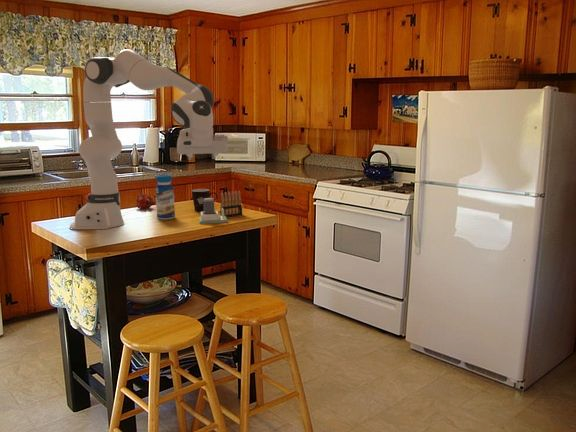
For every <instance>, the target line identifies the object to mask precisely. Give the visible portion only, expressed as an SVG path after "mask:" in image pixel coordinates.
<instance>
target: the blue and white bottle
mask: <svg viewBox="0 0 576 432" xmlns="http://www.w3.org/2000/svg"><path fill="white" fill-rule="evenodd" d="M155 178H156V183H157V184H156V187H155V190H154V191H155V197H154V198H155V204H156V218H157V219H158V220H160V221H161V220H163V221H165V220H172V219H174V218H176V210H175V208H176V207H175V194H174V190H175V189H174V187H173V185H172V184H171V183H172V175H171V174H164V173H163V174H157V175H156V177H155Z"/></svg>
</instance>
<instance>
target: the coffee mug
mask: <svg viewBox="0 0 576 432" xmlns="http://www.w3.org/2000/svg"><path fill="white" fill-rule="evenodd" d="M212 194H214V195H215V198H213V200H214V202H215V200H216V201H217V198H218V194H217V192H213V191H212V192H210V189H208V188H197V189H191V195H192V196H191V197H192V201H193V208H194V211H195V212H204V198H210V197H211V195H212Z"/></svg>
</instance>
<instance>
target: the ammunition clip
mask: <svg viewBox="0 0 576 432" xmlns="http://www.w3.org/2000/svg"><path fill="white" fill-rule="evenodd" d="M222 208H223V209H224V216H226V218H232V217H240V216H243V207H242V197H241V191H240V190H238V191H237V190H235V191H233V190H231V192H230V191H228V192H227V191H225V192H224V193H223V191H221V193H220V212H219V213H220V215H219V216H222ZM239 215H240V216H239Z"/></svg>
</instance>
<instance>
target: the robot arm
mask: <svg viewBox="0 0 576 432" xmlns="http://www.w3.org/2000/svg"><path fill="white" fill-rule="evenodd" d="M84 72H85V79H84V81H83V87H82V89H83V90H82V94H83V95H82V98H83V100H82V101H83V109H84V110H83V112H84V120H85V121H84V122H85V124H86V125H87V126H88V127H89V129H90V133H91V136H88V137H87V138H85V139H84V140H83V141H81V142H80V144H79V148H78V153H79V156H80V157H81V158H82V160H84V163H85V165H86V168H87V171H88V174H89V179H90V190H91V191H90V192H91V193H88V194H87V195H86V201H87V203H85V204H84V205H83V206H82V207H81V208H79V210H77V211H76V212H75V216H74V217H75V218H74V222H72V223H70V225H69V229H70V228H72V229H71V230H107V229H111V228H116V227H120V226H123V225H124V224H125V221H124V218H123V215H122V210H121V195H120V192H119V187H118V186H119V184H118V175H117V173H116V171H115V170H114V168H113V164H112V160H113V159H115V158H117V157H118V156H119V155H120V154H121V153H122V149H123V145H122V141H121V140H120V138H119V137H118V133H117V131H116V127H115V124H114V119H113V108H112V99H111V90H112V88H114V87H115V88H119V87H121V86H123V85H127V84H129V83H131V84H132V85H133V86H135V88H138V89H140V90H143V91H153V90H156V89H160V88H165V87H173V88H176V89H178V90H180V91H182V92H183V93H185V94H184V95H183V96H180V97H179V98H178V99H176V100H174V101H173V102H172V103H171V106H170V113H171V116H172V119H173V121H175V123H176V124H178V125H180V126H181V127H184V128H183V129H180V130H179V136H178V138H177V142H176V152H177V154H178V155H186V156H187V158H188V160H189V161H190V160H194V159H193V157H194V155H205V154H211V159H212V160H216V157H217V156H218V155H219V154H225V153H227V151H228V148H227V147H228V145H227V144H228V142H229V137H228V136H227V135H224V134H220V135H219V134H214V127H213V126H214V113H213V109H212V108H214V103H215V102H214V101H215V95H214V93H213V91H212V90H211V89H210V88H208V87H207V86H204V85H202V84H199V83H197V82H196V81H193V80H192V79H190V78H188V77H186V76H185V75H183V74H182V73H180V72H178V71H177V70H175V69H173V68H170V67H168V66H160V65H157V64H154V63H153V62H151V61H149V60H148V59H147V58H145V57H144V56H142V55H141V54H139V53H137V52H136V51H135V50H132V49H130V48H126V49H123V50H122V49H121V51H119V52H118V54H117V55H116V57H112V56H108V57H107V56H105V57H104V56H97V57H96V56H95V57H91V58H90V59H88V60H87V61H86V63H85V65H84Z"/></svg>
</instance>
